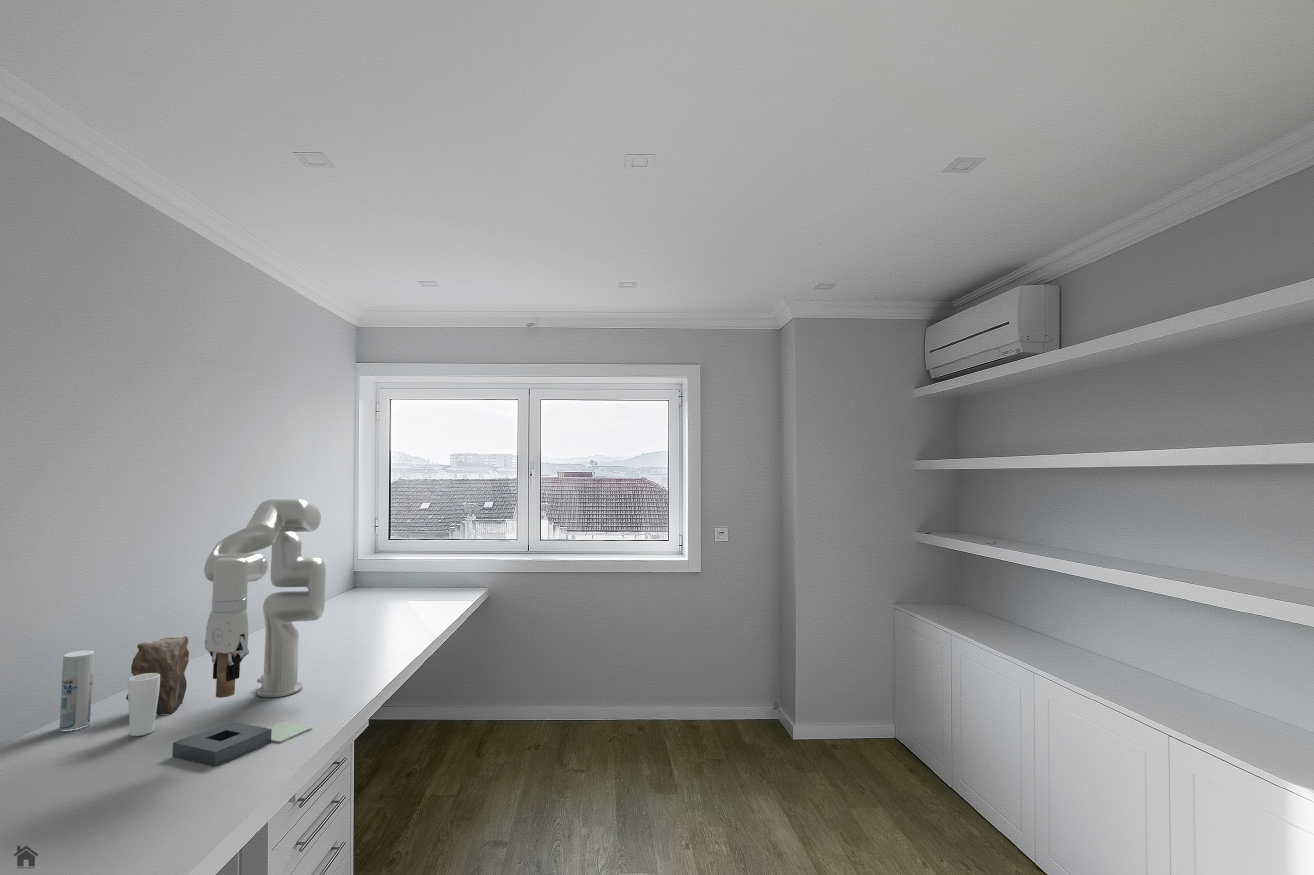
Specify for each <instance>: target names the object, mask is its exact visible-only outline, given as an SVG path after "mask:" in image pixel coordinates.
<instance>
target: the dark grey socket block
mask: <svg viewBox="0 0 1314 875" xmlns="http://www.w3.org/2000/svg"><path fill="white" fill-rule="evenodd" d="M271 734H272V729H269V728H268V727H264V726H259V725H252V724H247V723H244V722H237V721H232V720H230V721H226V722H224V723H221V724H219V725H216V726H213V727H210V728H208V729H205V730H203V731H200V732H197V733H195V734H191V735H190V736H187V737H184V738H181V739H178V740H176V741H173V742H172V753H171V757H172V758H174V759H179V760H184V761H188V762H193V763H196V764H197V763H198V764H201V763H202V765H205V764H206V765H205V766H209V765H210V767H214V768H215V767H218V766H220V764H221V765H223V764H225V763H227V762H229V760H230V761H232V760H234V759H236V757H237V758H238V756H239V757H241V756H244V755H245V753H246V754H249V753H251V752H252V751H255V750H257V748H258V749H260V748H262V747H265V746H267V745H269V744H272V742H271ZM250 751H251V752H250ZM243 754H244V755H243ZM240 755H241V756H240ZM231 759H232V760H231ZM222 763H223V764H222Z"/></svg>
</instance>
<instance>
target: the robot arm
mask: <svg viewBox="0 0 1314 875" xmlns="http://www.w3.org/2000/svg"><path fill="white" fill-rule="evenodd" d="M321 518H322V516H321V512H320V509H319V508H318V507H317V506H316V505H315V504H313V503H311V502H310V501H308V500H305V499H300V498H294V499H293V498H292V499H291V498H289V499H288V498H286V499H285V498H274V499H267V500H264V501H261V502H260V504H259V505H257V508H256V510H255V511H254V513H253V514H252V516H251V518H250V520H249V522H248V523H247V525H246V526H245V527H244V528H242V529H240V530H237V531H235V532H233V533H232V534H229V535H228V536H226V537H224V538H223V539H221V540H220V541H218V542H217V543H216V544H215V546H214V547H213V548H212V550H211V552H210V553H209V555H208V556H207V559H206V560H205V562H204V563H205V564H204V568H203V574H204V576H205V578H206V580H208V581H210V582H212V597H211V598H212V599H211V611H210V612H209V614H208V618H207V623H206V628H205V637H204V638H205V640H204V649H205V650H206V651H207V652H208V653H209V654H210V657H211V663H213V665H212V679H213V680H217V659H218V653H223V654H228V661H229V665H227V669H226V681H231V680H235V681H236V680H238V679H239V678H240V672H241V670H240V669H241V663H242V662H243V660H244V658H245V657H247V656H248V655H249V654H250V649H249V648H248V645H249V620H248V612H247V606H248V583H250V582H256V581H259V580H261V579H262V578H263V577H265V575H266V573H267V572H268V569H269V562H268V559H267V558H266V556H265V555H263V554H260V553H255V552H257V551H258V552H259V551H260V550H264V549H267V548H269V547H270V546H271V555H270V556H271V560H270V582H271V585H272V586H273V587H276V588H306V589H307V590H302V591H301V590H299V591H296V590H295V591H294V590H293V591H290V590H289V591H288V590H287V591H278V592H274V593H270V594H269V595H267V597H266V598H265V599H264V601H263V604H262V610H263V611H262V612H263V618H264V626H265V628H264V629H265V630H264V631H265V634H264V635H265V638H264V639H265V641H264V657H263V658H264V663H263V674H262V675H261V676H260V678H259V677H258V678H257V679H256V683H258V684H260V685H261V686H260V688H258V689H257V692H256V693H257V696H259V697H262V698H278V697H280V698H281V697H285V696H290V695H293V694H296V693H299V692H300V691H302V689H303V683H301V682H299V681H298V670H299V651H300V650H299V648H300V647H299V646H300V645H299V644H300V643H299V642H300V632H299V631H298V628H297V627H296V626H295V624H294V622H311V621H314V622H315V621H317V620H319V619H320V618H322V617H323V614H324V611H325V605H326V604H325V602H326V601H325V600H326V598H325V597H326V581H327V580H326V578H327V572H326V571H327V570H326V564H325V562H324V560H323V559H321V558H319V557H313V556H311V557H310V556H309V557H303V556H302V546H303V544H302V540H301V538H300V537H299V535H298V534H297V533H307V532H308V533H309V532H314V531H316V530H317V529H318V528H319V526H320V524H321ZM233 654H236V656H235V657H233Z"/></svg>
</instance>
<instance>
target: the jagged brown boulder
mask: <svg viewBox="0 0 1314 875" xmlns="http://www.w3.org/2000/svg"><path fill="white" fill-rule="evenodd" d="M188 644H189V638H188V636H187V635H185V636H183V637H182V636H181V637H171V636H170V637H163V638H160V639H159V640H155V641H150V642H142V643H138V644H137V649H138V651H137V653H135V656H134V657H133V659H132V663H131V667H130V669H131V672H130V673H131V674H132V675H133V676H136V675H140V674H146V673H158V674H160V690H159V697H158V704H157V710H156V714H157V715H156V716H164V715H163V714H171V715H173V714H172V713H174V712H175V713H176V711H177V710H178V709H179V708H180V707H181V705H182V704H183V700H184V698H185V695H186V691H187V687H188V686H187V684H188V683H187V678H186V675H185V672H186V669H187V666H188V665H189V662H190V660H189V656H190V651H189V650H188ZM125 700H127V701H128V693H127V694H126V698H125ZM180 704H181V705H180ZM179 706H180V707H179ZM178 707H179V708H178ZM175 713H174V714H175ZM161 714H162V715H161Z"/></svg>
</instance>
